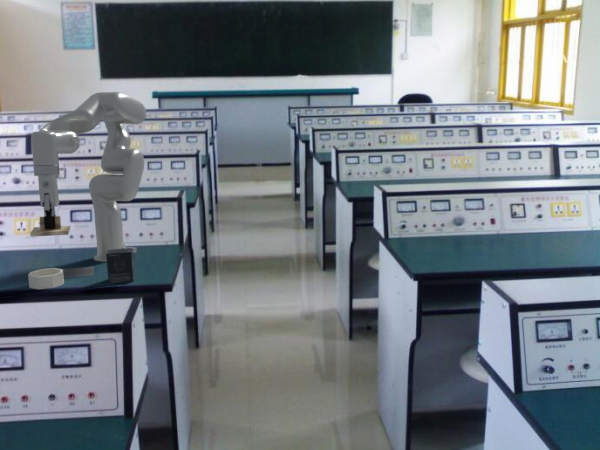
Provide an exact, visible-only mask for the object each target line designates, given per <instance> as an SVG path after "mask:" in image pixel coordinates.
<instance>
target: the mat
mask: <svg viewBox="0 0 600 450" xmlns="http://www.w3.org/2000/svg"><path fill="white" fill-rule="evenodd" d="M62 269H63V275H64V279H67V278H69V279H70V278H79V277H80V278H81V277H88V276H94V274H95V266H82V267H71V268H62Z"/></svg>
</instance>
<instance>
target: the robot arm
mask: <svg viewBox="0 0 600 450" xmlns="http://www.w3.org/2000/svg"><path fill="white" fill-rule="evenodd" d="M146 117H147V109H146V107H145V105H144V104H143V103H142V102H141V101H140V100H138V99H136V98H133V97H132V96H130V95H127V94H125V93H123V92H118V91H107V92H106V91H104V92H95V93H93V94H91V95H90V96H89V97H87V99H86V100H84V101H83V103H81V104H80V105H79V106H78V107H77V108H75V110H73V111H70V112H68V113H66V114H64V115H61V116H59V117H56V118H55V119H52V120H50V121H49V122H48V123H45V125H44V126H42V127H41V128H40V130H36V131H34V132H32V133H31V135H30V136H31V137H30V138H31V139H30V140H31V150H32V153H31V154H32V165H33V167H32V168H33V176H34V177H37V180H38V193H39V202H40V206H41V207H42V208H43V217H44V225H45V229H55V228H56V226H55V216H57V215H56V209H55V208H56V207H58V206H59V205H60V196H59V187H58V179H57V178H58V177H57V176H60V175H61V174H60V159H59V155H62V154H63V155H66V154H69V155H70V154H73V153H75V152H77V151H78V150H79V148H80V146H81V140H80V137H79V135H82V134H85V133H89V132H91V131H93V130H94V129H95V128H96V127H97V126H98V125H99V124H100V123H101V122H102V121H103V123H104V125H105V128H106V131H107V140H106V142H105V146H104V150H103V154H102V155H101V161H100V167H101V169H102V171H103V172H104V173H103V174H97V175H95V176H93V177H92V178H91V179H90V180H89V183H88V188H89V189H88V190H89V194H90V198H91V202H92V205H93V213H94V225H95V226H94V227H95V236H96V238H95V239H96V249H97V250H96V251H97V254H96V255H94V256H93V260H94V261H95V262H104V263H107V259H106V253H107V251H108V250H110V249H125V248H132V249H133V254H134V253H137V251H138V250H137V247H133V246H129V247H128V246H125V244H124V233H123V232H124V231H123V219H122V216H123V215H122V210H121V208H120V205H119V204H118V203H117V202H130V201H132V200H134V199H135V198H136V196H137V194H138V192H139V188H140V185H141V181H142V177H143V173H144V170H145V158H144V157H145V156H144V155H143V153H142V151H140V150H139V149H136V148H131V143H132V141H131V139H132V137H131V136H130V134H129V132H128V130H127V129H126V127H125V125H139V124H142V123H143V122H145V120H146ZM105 173H106V174H105Z"/></svg>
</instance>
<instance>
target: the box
mask: <svg viewBox="0 0 600 450" xmlns="http://www.w3.org/2000/svg"><path fill="white" fill-rule="evenodd" d="M106 259H107V262H106V265H107V266H106V267H107V269H106V270H107V277H108V278H107V280H108V284H115V283H117V284H120V283H131V282H134V280H135V278H136V275H135V261H134V253H133V249H132V248H125V249H110V250H108V251H107V253H106Z"/></svg>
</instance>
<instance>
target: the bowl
mask: <svg viewBox="0 0 600 450" xmlns="http://www.w3.org/2000/svg"><path fill="white" fill-rule="evenodd" d="M63 269H64V268H55V267H51V268H49V267H48V268H41V269H37V270H33V271H30V272H28V275H27V276H28V279H27V280H28V285H29V289H35V290H49V289H54V288H57V287H60V286H63V285H64V283H65V278H64V275H63Z"/></svg>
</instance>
